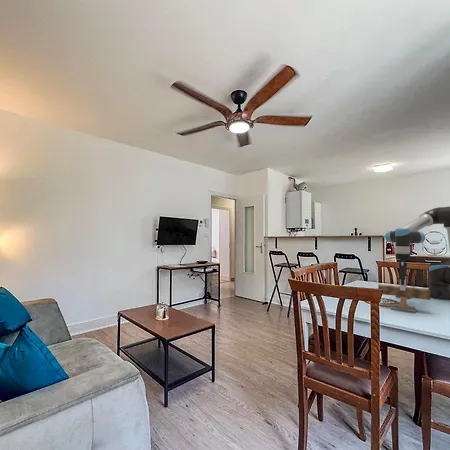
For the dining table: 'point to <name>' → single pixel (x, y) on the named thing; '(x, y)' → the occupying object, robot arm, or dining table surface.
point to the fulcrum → (403, 306)
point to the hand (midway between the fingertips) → (403, 288)
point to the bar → (405, 292)
